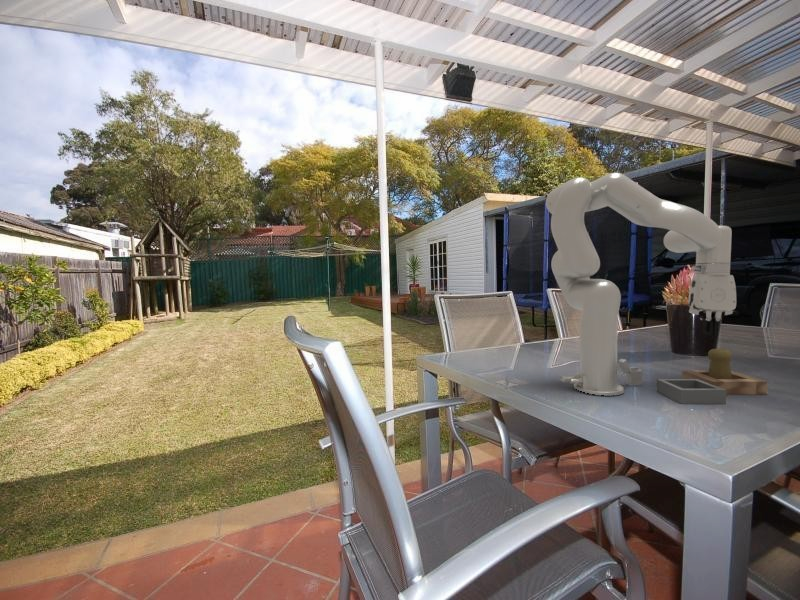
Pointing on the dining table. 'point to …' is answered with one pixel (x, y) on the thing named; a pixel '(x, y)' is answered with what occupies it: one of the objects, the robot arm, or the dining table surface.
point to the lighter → (631, 373)
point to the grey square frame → (691, 391)
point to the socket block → (730, 382)
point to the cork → (720, 364)
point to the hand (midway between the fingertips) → (709, 334)
